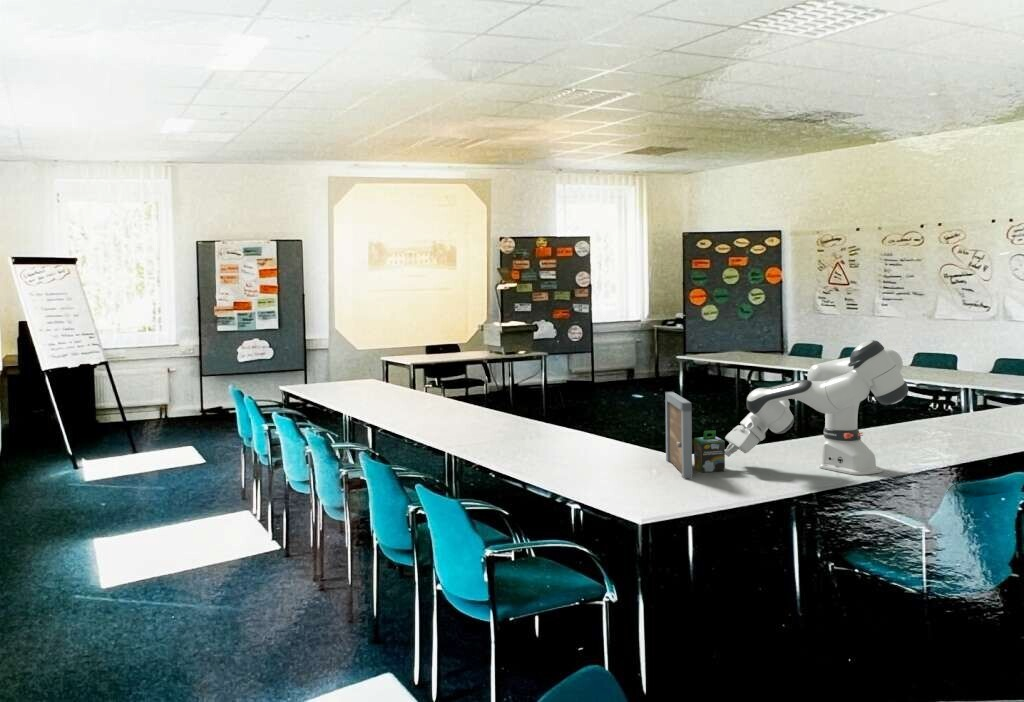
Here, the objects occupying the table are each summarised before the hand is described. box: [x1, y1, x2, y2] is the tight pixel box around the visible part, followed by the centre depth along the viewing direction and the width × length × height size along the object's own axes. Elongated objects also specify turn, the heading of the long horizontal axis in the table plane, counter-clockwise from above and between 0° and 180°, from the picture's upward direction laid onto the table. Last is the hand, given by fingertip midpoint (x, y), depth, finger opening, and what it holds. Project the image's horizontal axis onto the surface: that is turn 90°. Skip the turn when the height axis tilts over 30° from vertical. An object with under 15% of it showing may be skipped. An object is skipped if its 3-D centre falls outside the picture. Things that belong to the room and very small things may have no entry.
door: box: [670, 403, 682, 474], centre depth 304 cm, size 3×24×23 cm, turn 0°
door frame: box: [664, 391, 693, 479], centre depth 304 cm, size 3×32×27 cm, turn 0°
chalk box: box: [693, 429, 726, 473], centre depth 302 cm, size 9×9×15 cm
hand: (725, 454), depth 302 cm, fingers closed
